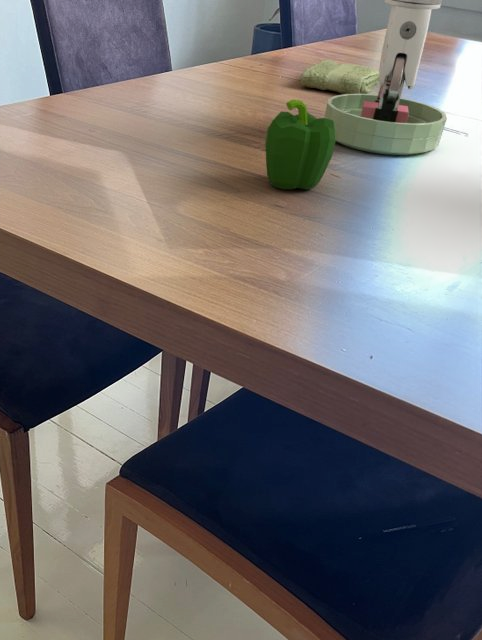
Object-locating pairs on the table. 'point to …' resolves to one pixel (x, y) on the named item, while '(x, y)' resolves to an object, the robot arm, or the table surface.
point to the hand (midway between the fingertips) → (379, 132)
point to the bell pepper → (298, 148)
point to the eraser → (370, 107)
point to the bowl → (385, 126)
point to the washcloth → (340, 77)
